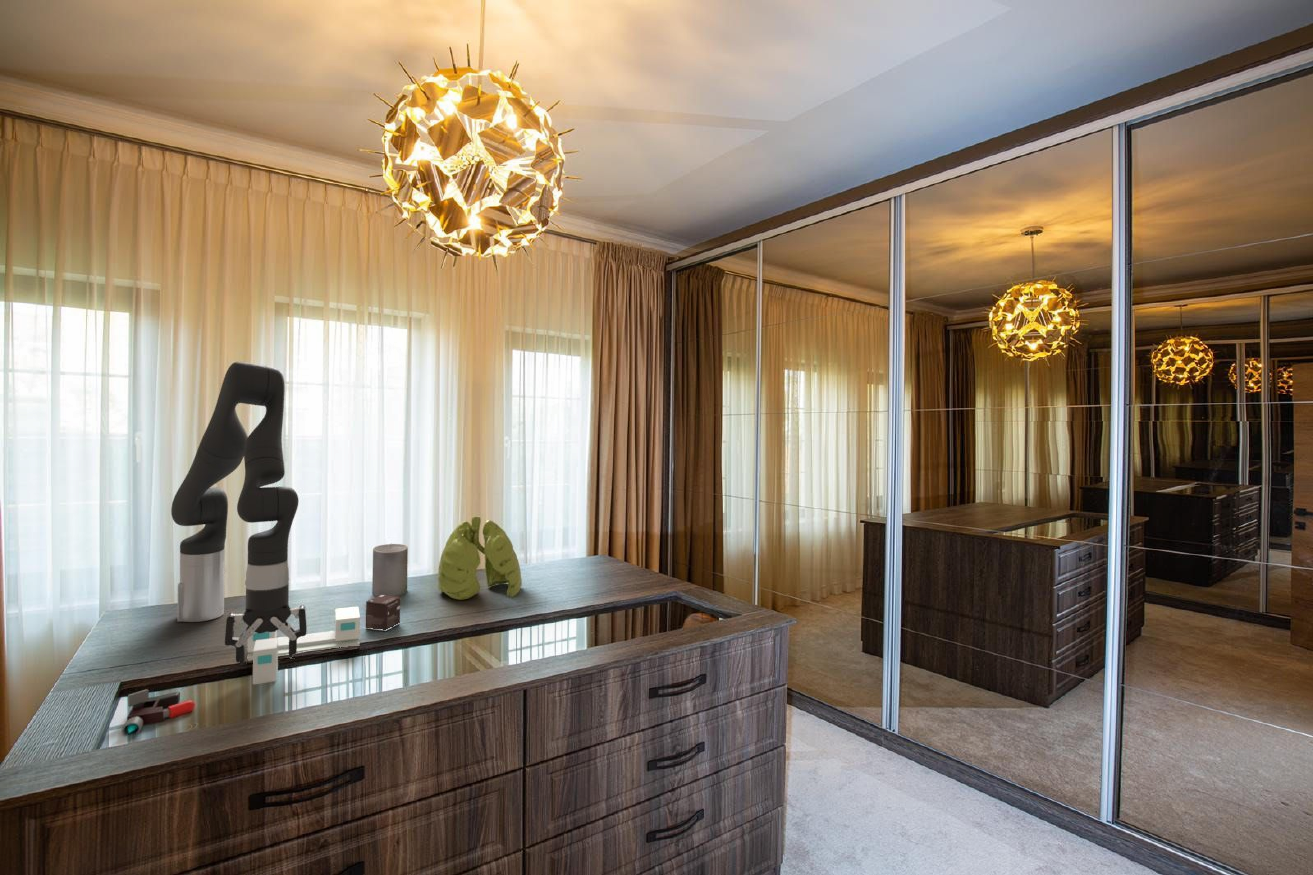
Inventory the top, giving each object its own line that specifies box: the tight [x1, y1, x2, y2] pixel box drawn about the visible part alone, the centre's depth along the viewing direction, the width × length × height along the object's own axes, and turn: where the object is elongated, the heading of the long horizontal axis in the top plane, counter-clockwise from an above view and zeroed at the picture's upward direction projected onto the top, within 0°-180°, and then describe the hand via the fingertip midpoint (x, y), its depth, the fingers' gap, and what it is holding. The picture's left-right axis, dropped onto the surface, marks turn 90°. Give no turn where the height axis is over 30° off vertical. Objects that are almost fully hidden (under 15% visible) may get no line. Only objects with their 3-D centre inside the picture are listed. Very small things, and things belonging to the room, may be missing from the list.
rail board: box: [246, 606, 361, 660], centre depth 142 cm, size 22×10×7 cm, turn 119°
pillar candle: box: [371, 543, 409, 597], centre depth 184 cm, size 10×10×15 cm
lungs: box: [437, 515, 523, 601], centre depth 188 cm, size 25×16×24 cm, turn 111°
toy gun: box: [121, 688, 196, 737], centre depth 110 cm, size 10×12×5 cm
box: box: [365, 595, 401, 630], centre depth 158 cm, size 6×6×7 cm
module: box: [252, 637, 279, 685], centre depth 128 cm, size 4×6×7 cm, turn 29°
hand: (266, 659), depth 128 cm, fingers open, 8 cm apart
